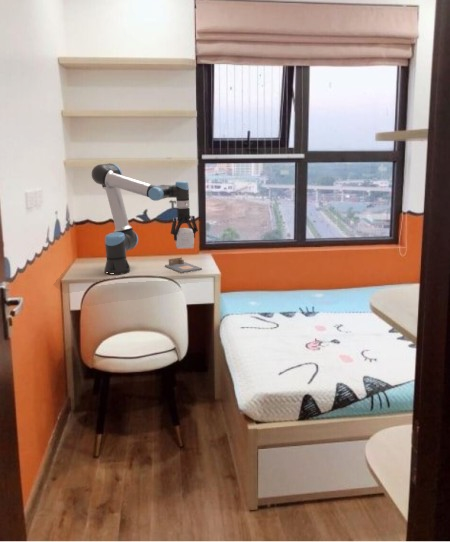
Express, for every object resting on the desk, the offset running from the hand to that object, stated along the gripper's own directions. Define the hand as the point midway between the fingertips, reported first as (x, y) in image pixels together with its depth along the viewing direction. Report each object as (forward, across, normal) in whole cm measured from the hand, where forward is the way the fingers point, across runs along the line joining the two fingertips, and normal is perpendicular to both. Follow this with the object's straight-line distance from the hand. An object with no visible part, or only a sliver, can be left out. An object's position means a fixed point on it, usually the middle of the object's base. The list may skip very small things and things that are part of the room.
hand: (185, 244), depth 315 cm
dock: (+15, 0, +4) cm, 16 cm away
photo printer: (+2, 0, 0) cm, 2 cm away
